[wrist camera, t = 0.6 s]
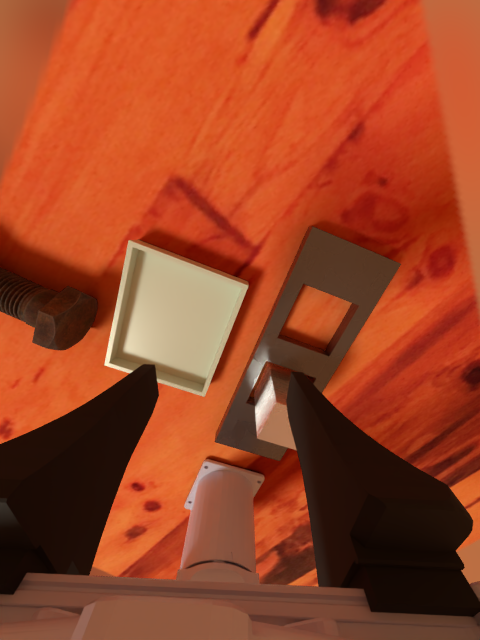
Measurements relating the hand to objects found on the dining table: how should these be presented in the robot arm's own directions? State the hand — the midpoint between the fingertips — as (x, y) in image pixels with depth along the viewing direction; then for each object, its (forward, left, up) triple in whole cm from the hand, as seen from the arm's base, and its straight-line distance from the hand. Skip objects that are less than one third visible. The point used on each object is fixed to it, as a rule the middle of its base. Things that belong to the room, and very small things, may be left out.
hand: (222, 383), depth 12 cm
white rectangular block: (-5, -7, -10) cm, 14 cm away
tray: (-2, +5, -10) cm, 11 cm away
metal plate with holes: (-2, -7, -10) cm, 13 cm away
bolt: (-4, +20, -11) cm, 23 cm away
